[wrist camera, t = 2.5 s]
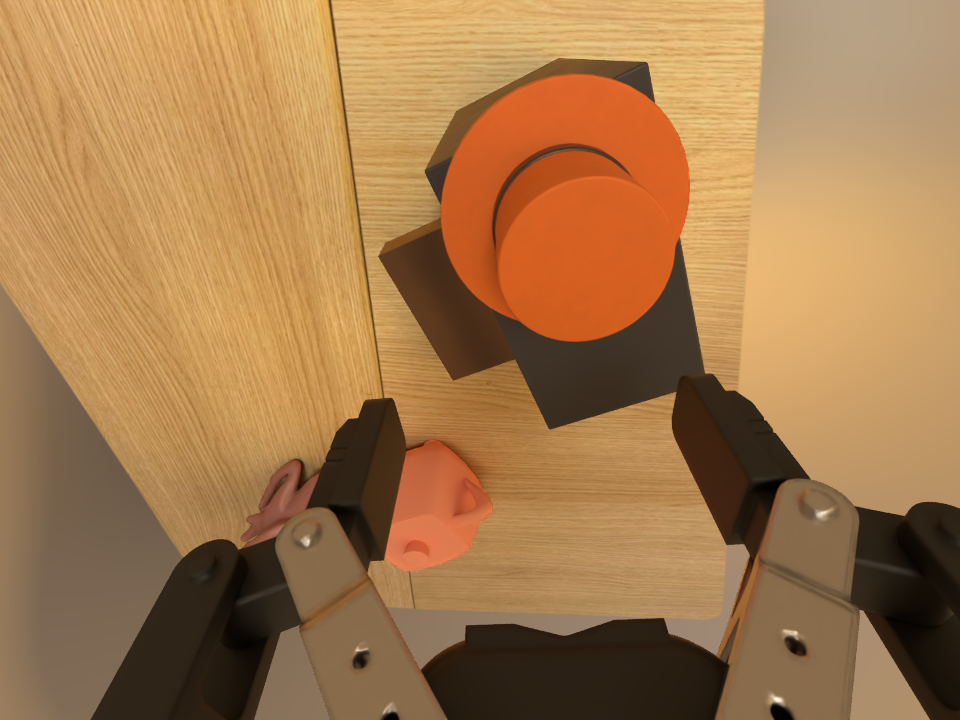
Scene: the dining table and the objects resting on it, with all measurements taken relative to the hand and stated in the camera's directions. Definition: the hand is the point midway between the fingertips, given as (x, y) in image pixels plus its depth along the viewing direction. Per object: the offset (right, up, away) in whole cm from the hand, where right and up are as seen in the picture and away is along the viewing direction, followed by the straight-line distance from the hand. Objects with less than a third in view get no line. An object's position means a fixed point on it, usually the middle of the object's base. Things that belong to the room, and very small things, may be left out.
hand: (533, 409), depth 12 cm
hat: (+2, +7, +4) cm, 8 cm away
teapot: (-9, -12, +42) cm, 45 cm away
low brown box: (-3, +8, +28) cm, 29 cm away
